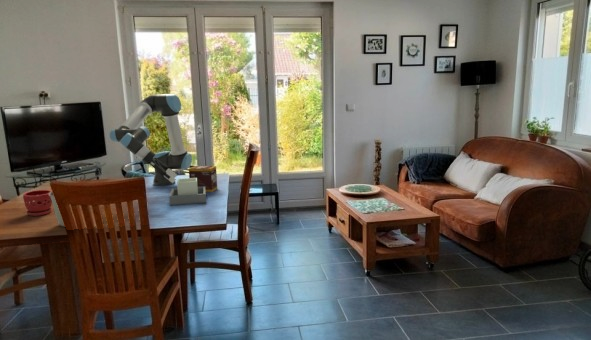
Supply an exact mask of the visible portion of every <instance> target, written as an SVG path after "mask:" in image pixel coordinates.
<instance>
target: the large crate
mask: <svg viewBox="0 0 591 340" xmlns="http://www.w3.org/2000/svg"><path fill="white" fill-rule="evenodd" d="M168 199H169V206H170V207H171V206H186V205H198V204H206V203H207V192H206V190H205V187H198V194H191V195H178V188H177V187H176V188H171V190H170V194H169V196H168Z"/></svg>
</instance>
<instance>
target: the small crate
mask: <svg viewBox="0 0 591 340" xmlns="http://www.w3.org/2000/svg"><path fill="white" fill-rule="evenodd" d="M176 181H177V182H176V189H177V188H178V195H191V194H198V186H197V178H189V177H188V178H178V179H177V180H176Z"/></svg>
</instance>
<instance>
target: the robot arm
mask: <svg viewBox="0 0 591 340" xmlns="http://www.w3.org/2000/svg"><path fill="white" fill-rule="evenodd" d="M181 109H182V101H181V99H180V98H179V96H178V95H177V94H175V93H174V94H171V93H164V94H163V93H162V94H160V93H159V94H151V95H149V96H147V97H146V98H144V99H143V100H141V101H140V102H139V103H138V104H137V108H136V109H135V110H133V112H132V113H131V114H130V116H128V117H127V119H125V121H123V123H122V124H121V125H120V126H119V127H118V128H115V129H111V130H110V132H109V139H110V140H111V141H112V142H114V143H117V142H118V143H120V144H121V145H122V146H123V147H124V148H126V149H127V150H128V151H129V152H130V153H132V154H133V155H134V156H136V158H138V159H139V160H141V161H142V162H143V164H145V165H148V164H149V165H150V166H151V167H153V169H154V177H153V180H152V181H153V182H152V183H153V185H154V186H159V187H161V186H170V185H174V184H175V183H176V181H177V179H176V177H177V176H178V174H177V173H176V172H174V170H177V171H179V170H180V171H182V170H189V168H191V165H192V160H193V159H192V154H191V153H189V152H188V150H187V149H186V148H185V146H184V140H183V136H182V131H181V125H180V122H179V117H178V116H179V114H180V111H181ZM153 113H160V115H161V117H163V118H164V122H165V125H166V130H167V135H168V139H169V140H168V141H169V146H170V148H171V150H166V151H160V152H156V153H155V152H154V151H152V150H150V148H148V147H147V146H146V145H145V144H143V143H144V142H145V141H146V140H147V139H148V138H149V137H150V136H151V135H150V134H151V131H150V130H149V129H148V127H146V126H143V125H141V124H142V122H144V120H145V119H146V118H147V117H148V116H151V115H152V114H153ZM140 125H141V126H140Z"/></svg>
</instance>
